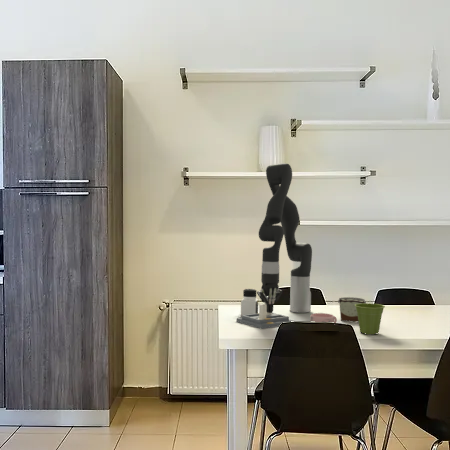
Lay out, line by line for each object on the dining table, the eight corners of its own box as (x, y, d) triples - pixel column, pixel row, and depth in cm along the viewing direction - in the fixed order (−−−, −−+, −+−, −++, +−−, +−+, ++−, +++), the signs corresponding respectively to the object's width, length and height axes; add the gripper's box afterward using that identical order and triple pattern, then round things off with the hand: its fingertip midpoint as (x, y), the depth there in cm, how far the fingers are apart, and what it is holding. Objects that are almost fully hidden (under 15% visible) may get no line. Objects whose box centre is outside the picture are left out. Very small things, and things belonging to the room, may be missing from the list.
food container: (367, 320, 255) (367, 298, 255) (365, 322, 249) (366, 300, 249) (339, 318, 259) (339, 296, 259) (337, 320, 253) (338, 298, 253)
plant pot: (379, 330, 233) (379, 303, 233) (388, 336, 222) (389, 308, 221) (350, 329, 233) (351, 302, 233) (358, 336, 221) (359, 307, 221)
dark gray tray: (268, 317, 256) (268, 310, 256) (293, 324, 243) (294, 316, 243) (236, 321, 246) (236, 314, 246) (261, 328, 232) (261, 320, 232)
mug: (318, 332, 227) (318, 318, 227) (305, 327, 236) (305, 313, 236) (343, 330, 231) (343, 316, 231) (329, 326, 241) (330, 312, 240)
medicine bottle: (255, 316, 259) (256, 290, 258) (240, 315, 260) (241, 289, 260) (258, 313, 266) (258, 288, 265) (243, 313, 267) (243, 287, 267)
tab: (264, 320, 241) (264, 303, 241) (268, 321, 239) (268, 304, 239) (256, 320, 239) (257, 304, 239) (261, 322, 237) (261, 305, 236)
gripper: (276, 270, 247) (275, 310, 248) (252, 271, 240) (251, 312, 240) (288, 272, 241) (287, 312, 242) (264, 273, 234) (263, 315, 234)
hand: (269, 312), depth 241 cm, fingers closed
